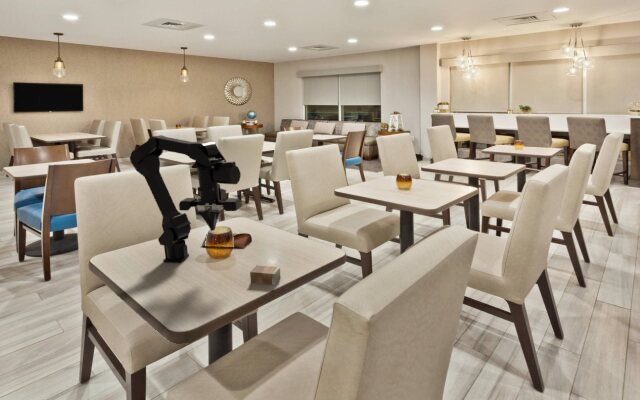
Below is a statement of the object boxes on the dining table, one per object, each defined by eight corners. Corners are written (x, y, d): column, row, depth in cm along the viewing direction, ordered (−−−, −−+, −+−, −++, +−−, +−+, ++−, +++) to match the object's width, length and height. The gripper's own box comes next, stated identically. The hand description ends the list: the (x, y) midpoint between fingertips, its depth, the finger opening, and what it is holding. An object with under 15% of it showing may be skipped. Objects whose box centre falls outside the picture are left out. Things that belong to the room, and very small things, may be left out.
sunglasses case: (198, 247, 153) (200, 229, 155) (205, 250, 159) (207, 233, 161) (245, 248, 150) (247, 230, 152) (251, 251, 157) (252, 234, 159)
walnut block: (250, 271, 122) (274, 273, 120) (256, 265, 127) (279, 267, 125) (250, 282, 123) (274, 285, 121) (257, 275, 127) (280, 277, 126)
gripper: (245, 177, 136) (249, 223, 140) (191, 177, 139) (196, 222, 143) (233, 184, 125) (237, 234, 129) (175, 184, 128) (181, 232, 132)
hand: (213, 230), depth 133 cm, fingers closed
